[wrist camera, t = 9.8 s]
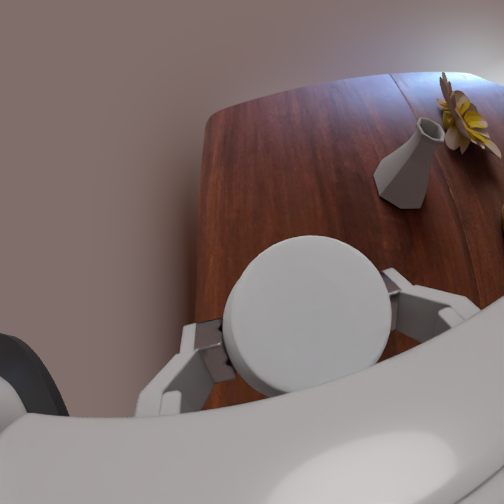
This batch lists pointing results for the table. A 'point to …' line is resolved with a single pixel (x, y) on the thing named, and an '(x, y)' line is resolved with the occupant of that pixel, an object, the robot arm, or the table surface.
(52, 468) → the robot arm
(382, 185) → the flask
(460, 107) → the decorative flower
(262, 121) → the table surface
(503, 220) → the fruit
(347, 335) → the pill bottle
